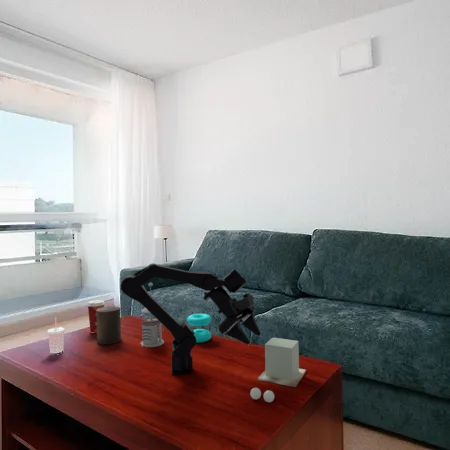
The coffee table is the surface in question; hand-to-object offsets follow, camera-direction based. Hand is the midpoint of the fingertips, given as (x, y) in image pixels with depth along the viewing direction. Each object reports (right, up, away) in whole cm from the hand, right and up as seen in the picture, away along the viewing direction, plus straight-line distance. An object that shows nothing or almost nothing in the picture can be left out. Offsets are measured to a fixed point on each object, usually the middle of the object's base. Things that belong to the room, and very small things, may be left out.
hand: (254, 339), depth 117 cm
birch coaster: (+9, -11, -3) cm, 14 cm away
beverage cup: (-75, -13, +22) cm, 80 cm away
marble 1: (-1, -11, -17) cm, 20 cm away
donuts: (-20, -11, +34) cm, 41 cm away
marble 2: (+2, -11, -19) cm, 22 cm away
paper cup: (-69, -12, +48) cm, 84 cm away
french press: (-39, -12, +30) cm, 51 cm away
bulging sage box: (+9, -10, -3) cm, 14 cm away
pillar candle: (-59, -12, +35) cm, 69 cm away
